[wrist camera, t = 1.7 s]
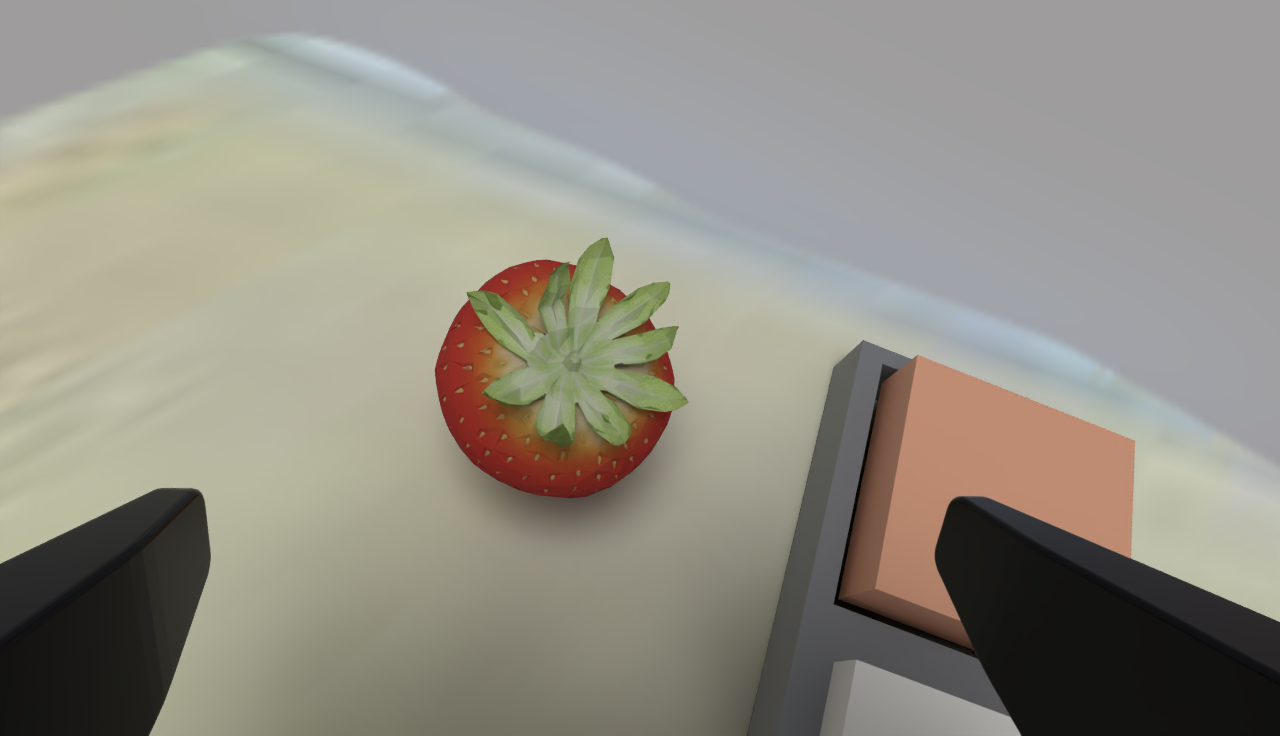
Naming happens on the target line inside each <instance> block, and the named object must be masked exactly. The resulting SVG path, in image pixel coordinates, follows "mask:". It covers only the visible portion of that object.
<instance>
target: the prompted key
mask: <svg viewBox="0 0 1280 736" xmlns="http://www.w3.org/2000/svg"><path fill="white" fill-rule="evenodd" d="M1134 454H1135V441H1134V440H1132V439H1129V438H1127V437H1124V436H1121V435H1119V434H1116V433H1114V432H1111V431H1109V430H1106V429H1104V428H1101V427H1099V426H1096V425H1094V424H1091V423H1089V422H1086V421H1083V420H1081V419H1078V418H1076V417H1073V416H1071V415H1068V414H1066V413H1063V412H1061V411H1058V410H1056V409H1053V408H1051V407H1048V406H1045V405H1043V404H1040V403H1038V402H1035V401H1033V400H1030V399H1028V398H1025V397H1023V396H1020V395H1018V394H1015V393H1013V392H1010V391H1007V390H1005V389H1002V388H1000V387H997V386H995V385H992V384H990V383H987V382H985V381H982V380H980V379H977V378H975V377H972V376H969V375H967V374H964V373H962V372H959V371H957V370H954V369H952V368H949V367H947V366H944V365H942V364H939V363H937V362H934V361H931V360H929V359H926V358H924V357H921V356H919V355H917V356H916V357H914V358H913V359H912V360H911V361H909V362H908V363H907V364H906V365H904V366H903V367H902V368H900V369H899V370H898V371H897V372H895V373H894V374H893V375H891V376H890V377H889V378H888V379H886V380H885V381H884V382H883V383H882V385H881V390H880V395H879V400H878V405H877V410H876V415H875V420H874V425H873V430H872V435H871V440H870V445H869V450H868V455H867V459H866V464H865V469H864V474H863V479H862V484H861V489H860V494H859V499H858V504H857V509H856V514H855V519H854V524H853V529H852V534H851V539H850V544H849V549H848V554H847V559H846V563H845V568H844V573H843V578H842V583H841V588H840V593H839V598H838V599H840V600H842V601H845V602H848V603H850V604H853V605H856V606H858V607H861V608H864V609H866V610H869V611H872V612H874V613H877V614H880V615H882V616H885V617H887V618H890V619H893V620H895V621H898V622H901V623H903V624H906V625H909V626H911V627H914V628H917V629H919V630H922V631H925V632H927V633H930V634H932V635H935V636H938V637H940V638H943V639H946V640H948V641H951V642H954V643H956V644H959V645H962V646H964V647H967V648H970V649H972V650H974V649H973V647H972V645H971V642H970V640H969V638H968V636H967V634H966V631H965V629H964V627H963V625H962V623H961V621H960V618H959V616H958V614H957V612H956V610H955V607H954V605H953V603H952V601H951V599H950V596H949V594H948V592H947V590H946V588H945V586H944V583H943V581H942V579H941V577H940V575H939V572H938V570H937V567H936V563H935V547H936V544H937V540H938V537H939V534H940V530H941V527H942V524H943V520H944V517H945V514H946V510H947V507H948V505H949V503H950V502H951V500H952V499H954V498H955V497H958V496H983V497H988V498H990V499H993V500H995V501H997V502H1000V503H1002V504H1004V505H1007V506H1009V507H1011V508H1014V509H1016V510H1018V511H1021V512H1023V513H1025V514H1028V515H1030V516H1032V517H1035V518H1037V519H1039V520H1042V521H1044V522H1047V523H1049V524H1051V525H1054V526H1056V527H1058V528H1061V529H1063V530H1065V531H1068V532H1070V533H1072V534H1075V535H1077V536H1079V537H1082V538H1084V539H1086V540H1089V541H1091V542H1093V543H1096V544H1098V545H1100V546H1103V547H1105V548H1107V549H1110V550H1112V551H1114V552H1117V553H1119V554H1122V555H1124V556H1126V557H1129V558H1131V539H1132V511H1133V483H1134Z"/></svg>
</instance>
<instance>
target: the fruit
mask: <svg viewBox="0 0 1280 736" xmlns="http://www.w3.org/2000/svg"><path fill="white" fill-rule="evenodd" d="M613 261H614V256H613V253H612V250H611V247H610V244H609V241H608V238H602V239H600V240H599V241H597V242H595V243H594V244H592V245H590V246H589V247H588V248H587V250H586V251H585V252H584V253H583V255H582V256H581V257H580V258H579V260H578V263H577V266H576V265H571V264H569V263H570V262H567V263H561V262H556V261H551V260H536V261H531V262H526V263H522V264H519V265H516V266H512V267H509V268H507V269H506V270H504V271H502V272H500V273H499V274H497V275H495V276H494V277H493V278H491V279H490V280H488V281H487V282H486V283H485V284H484V285H483V286H482V287H481V288H480V289H479V290H478V291H474V292H467V296H468V298H469V300H468V301H467V303H466V304H465V305H464V306H463V307H462V308H461V310H460V311H459V312H458V314H457V315H456V317H455V319H454V321H453V323H452V325H451V326H450V328H449V331H448V333H447V336H446V338H445V340H444V343H443V345H442V347H441V350H440V353H439V356H438V359H437V363H436V367H435V377H436V385H437V391H438V396H439V401H440V405H441V409H442V413H443V416H444V418H445V421H446V424H447V426H448V428H449V430H450V432H451V434H452V436H453V437H454V439H455V440H456V442H457V444H458V445H459V447H460V448H461V450H462V451H463V452H464V453H465V454H466V456H467V457H468V458H469V459H470V461H471V462H472V463H473V464H475V465H476V466H477V467H479V468H480V469H481V470H483V471H484V472H486V473H487V474H489V475H490V476H492V477H493V478H495V479H497V480H498V481H500V482H502V483H505V484H507V485H509V486H511V487H514V488H516V489H518V490H521V491H525V492H528V493H532V494H535V495H542V496H553V497H564V498H577V497H586V496H589V495H591V494H594V493H596V492H599V491H601V490H604V489H606V488H609V487H611V486H612V485H614V484H615V483H617V482H618V481H620V480H621V479H622V478H624V477H625V476H627V475H628V474H630V473H631V472H632V471H633V470H634V469H635V468H636V467H638V466H639V465H640V464H641V463H642V461H643V460H644V459H645V458H646V457H647V456H648V455H649V454H650V452H651V451H652V450H653V448H654V446H655V445H656V443H657V441H658V440H659V438H660V436H661V435H662V433H663V431H664V429H665V428H666V426H667V424H668V421H669V418H670V415H671V412H672V410H677V409H678V408H680V407H682V406H683V405H685V404H686V403H688V401H687V399H686V398H685V397H684V396H683V395H682V394H681V392H680V391H679V390H678V389H677V388H676V387H675V386H674V375H673V370H672V366H671V362H670V359H669V355H668V352H667V351H668V350H670V349H671V348H672V345H673V341H674V338H675V335H676V331H677V329H678V326H672V327H666V328H660V329H655V327H654V326H653V324H652V322H651V321H650V319H649V318H650V317H651V315H652V314H653V313H654V312H655V311H656V310H657V309H658V308H659V307H660V306H661V305H662V304H663V303H664V302H665V301H666V298H667V296H668V294H669V290H670V283H669V282H659V283H652V284H650V285H647V286H644V287H641V288H638V289H637V290H635V291H634V292H632V293H631V294H629V295H628V296H626V295H625V294H624V293H622V292H621V291H620V290H619V289H617V288H615V287H613V286H612V285H610V283H611V275H612V268H613Z"/></svg>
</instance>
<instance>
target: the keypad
mask: <svg viewBox="0 0 1280 736" xmlns="http://www.w3.org/2000/svg"><path fill="white" fill-rule="evenodd" d="M911 360H912V359H910V358H907V357H904V356H902V355H899V354H897V353H894V352H892V351H889V350H887V349H884V348H882V347H879V346H877V345H874V344H871V343H869V342H866V341H864V340H863V341H862V342H861V343H860V344H859V345H858V346H856V347H855V348H854V349H853V350H852V351H851V352H850V353H849V354H848V355H847V356H846V357H845V358H844V359H842V360H841V361H840V362H839V363H838V364H837V365H836V366H835V367H834V370H833V374H832V378H831V382H830V387H829V391H828V395H827V399H826V404H825V408H824V412H823V416H822V421H821V425H820V429H819V433H818V438H817V442H816V446H815V450H814V455H813V459H812V463H811V467H810V472H809V476H808V480H807V484H806V489H805V493H804V497H803V501H802V506H801V510H800V514H799V518H798V522H797V527H796V531H795V535H794V539H793V544H792V548H791V552H790V556H789V561H788V565H787V569H786V573H785V578H784V582H783V586H782V590H781V595H780V599H779V603H778V607H777V612H776V616H775V620H774V624H773V629H772V633H771V637H770V641H769V646H768V650H767V654H766V658H765V663H764V667H763V671H762V675H761V680H760V684H759V688H758V692H757V697H756V701H755V705H754V709H753V714H752V718H751V722H750V726H749V730H748V735H747V736H1021V734H1020V733H1019V731H1018V729H1017V728H1016V726H1015V724H1014V722H1013V721H1012V719H1011V717H1010V715H1009V714H1008V712H1007V710H1006V709H1005V707H1004V705H1003V703H1002V702H1001V700H1000V698H999V697H998V695H997V693H996V691H995V690H994V688H993V686H992V684H991V682H990V681H989V679H988V677H987V675H986V673H985V672H984V670H983V668H982V666H981V664H980V661H979V659H977V658H974V657H972V656H969V655H967V654H964V653H961V652H959V651H956V650H953V649H951V648H948V647H945V646H943V645H940V644H937V643H935V642H932V641H929V640H927V639H924V638H922V637H919V636H916V635H914V634H911V633H908V632H906V631H903V630H900V629H898V628H895V627H892V626H890V625H887V624H884V623H882V622H879V621H876V620H874V619H871V618H869V617H866V616H863V615H861V614H858V613H855V612H853V611H850V610H847V609H845V608H842V607H839V606H837V605H834V599H835V594H836V589H837V585H838V580H839V575H840V570H841V565H842V560H843V555H844V550H845V545H846V540H847V536H848V531H849V526H850V521H851V516H852V511H853V506H854V501H855V496H856V491H857V486H858V482H859V477H860V472H861V467H862V462H863V457H864V452H865V447H866V442H867V437H868V433H869V428H870V423H871V418H872V413H873V408H874V403H875V399H878V400H879V395H880V390H881V385H882V383H883V382H884V381H885V380H886V379H888V378H889V377H890V376H891V375H893V374H894V373H895V372H897V371H898V370H899V369H900V368H902V367H903V366H904V365H906V364H907V363H908V362H909V361H911Z"/></svg>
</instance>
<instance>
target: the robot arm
mask: <svg viewBox="0 0 1280 736" xmlns="http://www.w3.org/2000/svg"><path fill="white" fill-rule="evenodd" d="M210 560H211V552H210V543H209V534H208V525H207V516H206V507H205V501H204V498H203V495H202V493H201V492H200V491H199V490H197V489H193V488H160V489H156V490H153V491H151V492H149V493H147V494H145V495H143V496H141V497H139V498H137V499H135V500H133V501H130V502H128V503H126V504H124V505H122V506H120V507H118V508H116V509H114V510H112V511H110V512H107V513H105V514H103V515H101V516H99V517H97V518H95V519H93V520H91V521H89V522H87V523H85V524H82V525H80V526H78V527H76V528H74V529H72V530H70V531H68V532H66V533H64V534H62V535H59V536H57V537H55V538H53V539H51V540H49V541H47V542H45V543H43V544H41V545H39V546H36V547H34V548H32V549H30V550H28V551H26V552H24V553H22V554H20V555H18V556H16V557H14V558H11V559H9V560H7V561H5V562H3V563H1V564H0V736H149V734H150V732H151V730H152V728H153V726H154V724H155V722H156V719H157V717H158V715H159V713H160V710H161V708H162V706H163V704H164V701H165V699H166V696H167V694H168V691H169V688H170V685H171V683H172V680H173V677H174V674H175V671H176V668H177V665H178V662H179V659H180V656H181V653H182V650H183V648H184V645H185V642H186V639H187V636H188V633H189V630H190V627H191V624H192V621H193V618H194V615H195V612H196V609H197V606H198V603H199V600H200V597H201V594H202V591H203V588H204V585H205V582H206V579H207V576H208V573H209V568H210ZM935 563H936V567H937V570H938V572H939V575H940V577H941V579H942V581H943V583H944V586H945V588H946V590H947V592H948V594H949V596H950V599H951V601H952V603H953V605H954V607H955V610H956V612H957V614H958V616H959V618H960V621H961V623H962V625H963V627H964V629H965V631H966V634H967V636H968V638H969V640H970V642H971V645H972V647H973V649H974V651H975V653H976V655H977V657H978V659H979V661H980V664H981V666H982V668H983V670H984V672H985V673H986V675H987V677H988V679H989V681H990V682H991V684H992V686H993V688H994V690H995V691H996V693H997V695H998V697H999V698H1000V700H1001V702H1002V703H1003V705H1004V707H1005V709H1006V710H1007V712H1008V714H1009V715H1010V717H1011V719H1012V721H1013V722H1014V724H1015V726H1016V728H1017V729H1018V731H1019V733H1020V734H1021V736H1280V622H1279V621H1276V620H1274V619H1272V618H1269V617H1267V616H1265V615H1262V614H1260V613H1257V612H1255V611H1253V610H1250V609H1248V608H1246V607H1243V606H1241V605H1239V604H1236V603H1234V602H1232V601H1229V600H1227V599H1225V598H1222V597H1220V596H1218V595H1215V594H1213V593H1211V592H1208V591H1206V590H1204V589H1201V588H1199V587H1197V586H1194V585H1192V584H1190V583H1187V582H1185V581H1182V580H1180V579H1178V578H1175V577H1173V576H1171V575H1168V574H1166V573H1164V572H1161V571H1159V570H1157V569H1154V568H1152V567H1150V566H1147V565H1145V564H1143V563H1140V562H1138V561H1136V560H1133V559H1131V558H1129V557H1126V556H1124V555H1122V554H1119V553H1117V552H1114V551H1112V550H1110V549H1107V548H1105V547H1103V546H1100V545H1098V544H1096V543H1093V542H1091V541H1089V540H1086V539H1084V538H1082V537H1079V536H1077V535H1075V534H1072V533H1070V532H1068V531H1065V530H1063V529H1061V528H1058V527H1056V526H1054V525H1051V524H1049V523H1047V522H1044V521H1042V520H1039V519H1037V518H1035V517H1032V516H1030V515H1028V514H1025V513H1023V512H1021V511H1018V510H1016V509H1014V508H1011V507H1009V506H1007V505H1004V504H1002V503H1000V502H997V501H995V500H993V499H990V498H988V497H983V496H958V497H955V498H954V499H952V500H951V502H950V503H949V505H948V507H947V510H946V514H945V517H944V520H943V524H942V527H941V530H940V534H939V537H938V540H937V544H936V547H935Z"/></svg>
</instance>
